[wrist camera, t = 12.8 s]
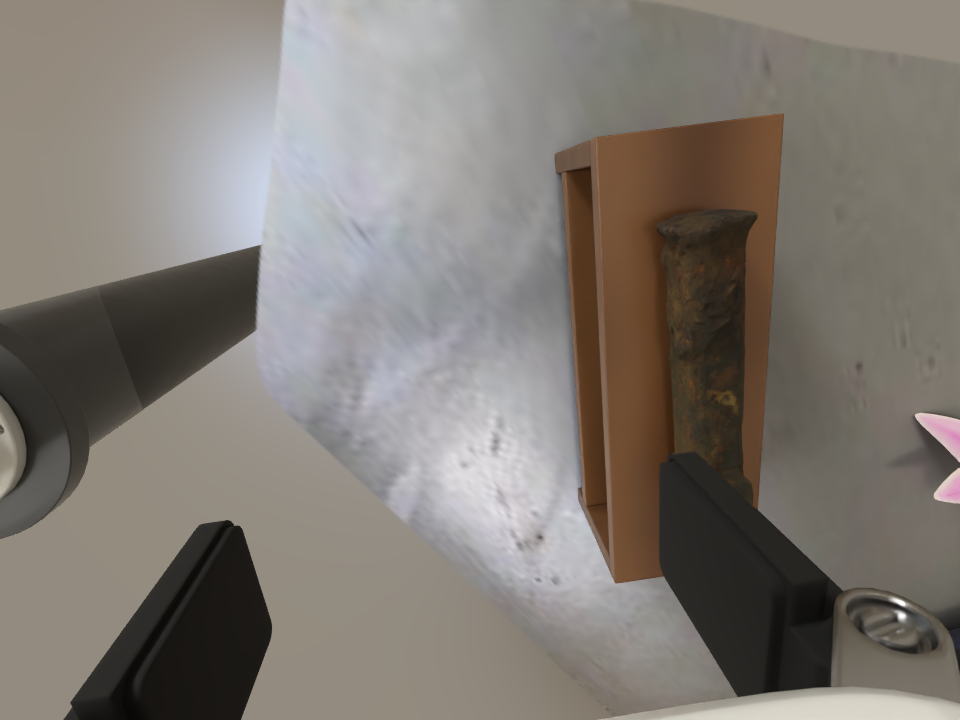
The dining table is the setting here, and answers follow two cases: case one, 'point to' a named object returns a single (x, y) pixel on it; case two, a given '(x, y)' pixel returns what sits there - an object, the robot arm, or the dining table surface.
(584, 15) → the dining table surface
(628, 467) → the shelf stand
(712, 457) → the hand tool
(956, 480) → the lily
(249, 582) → the robot arm
